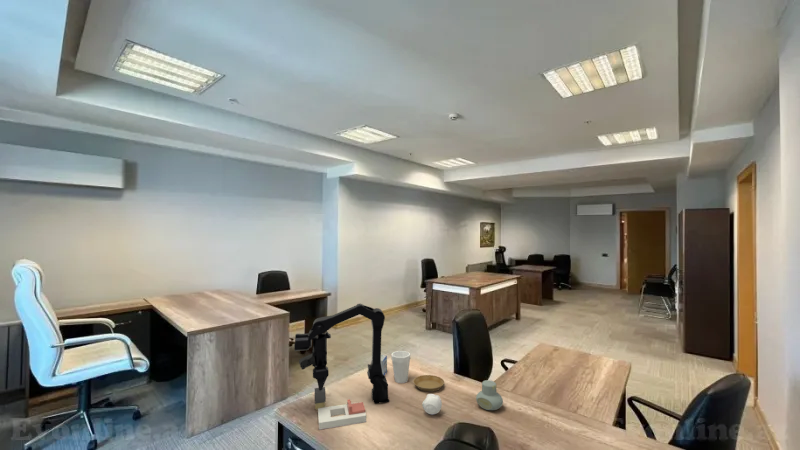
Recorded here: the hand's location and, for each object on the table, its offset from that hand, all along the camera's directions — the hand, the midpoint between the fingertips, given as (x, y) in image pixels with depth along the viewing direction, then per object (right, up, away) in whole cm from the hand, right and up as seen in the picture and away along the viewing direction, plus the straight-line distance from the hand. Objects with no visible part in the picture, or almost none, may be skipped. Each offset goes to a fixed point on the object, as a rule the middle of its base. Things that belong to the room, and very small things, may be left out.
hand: (320, 385), depth 144 cm
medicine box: (+24, -10, +31) cm, 41 cm away
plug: (0, -9, 0) cm, 9 cm away
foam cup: (+35, -9, +24) cm, 43 cm away
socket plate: (+11, -9, -10) cm, 17 cm away
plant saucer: (+48, -9, +17) cm, 52 cm away
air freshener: (+72, -8, -2) cm, 73 cm away
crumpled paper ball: (+47, -8, -7) cm, 49 cm away
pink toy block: (+16, -6, -8) cm, 19 cm away
